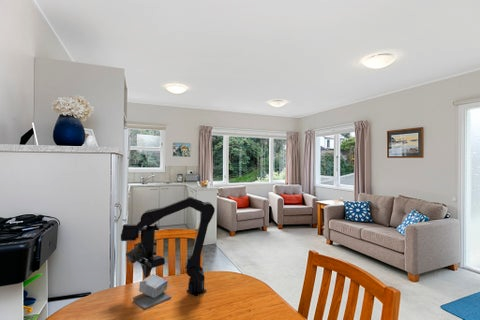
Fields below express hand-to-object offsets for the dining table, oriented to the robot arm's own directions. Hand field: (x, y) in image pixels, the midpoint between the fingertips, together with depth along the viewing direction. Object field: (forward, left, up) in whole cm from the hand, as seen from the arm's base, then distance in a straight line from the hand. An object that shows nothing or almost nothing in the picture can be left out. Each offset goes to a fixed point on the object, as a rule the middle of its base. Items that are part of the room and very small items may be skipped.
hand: (146, 277), depth 111 cm
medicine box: (-1, -2, -3) cm, 4 cm away
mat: (0, +6, -8) cm, 10 cm away
